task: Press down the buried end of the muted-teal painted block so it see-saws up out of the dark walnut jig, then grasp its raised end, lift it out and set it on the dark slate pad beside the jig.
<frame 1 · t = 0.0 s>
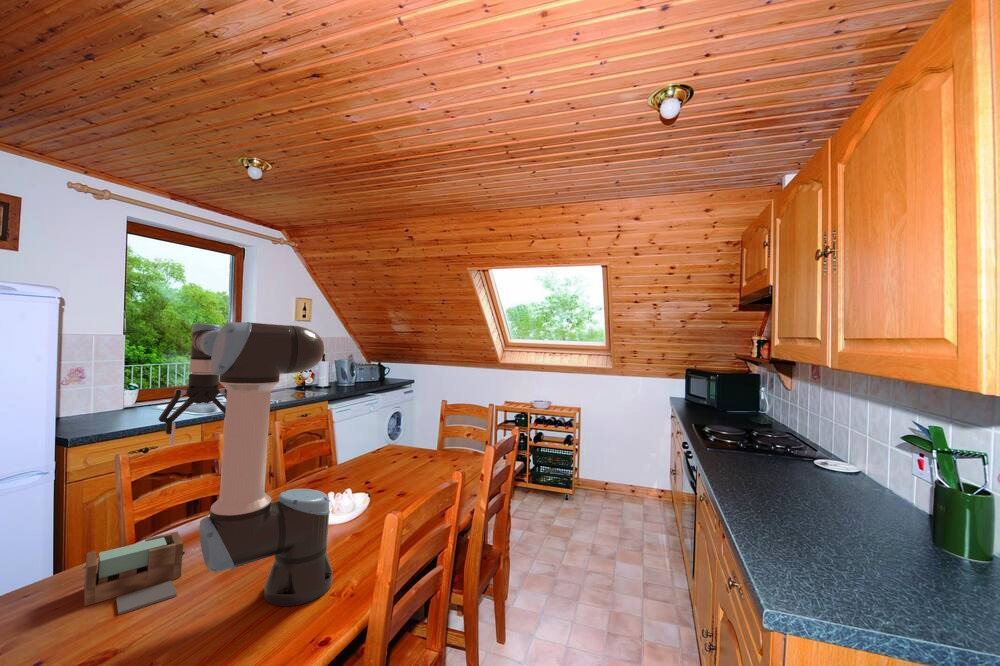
hand: (199, 441, 126), 28 cm above the table, fingers open, 13 cm apart
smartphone: (150, 557, 112), on the table
slate pad: (146, 598, 94), on the table
walnut jig: (133, 582, 99), on the table
teal block: (132, 565, 99), point 4 cm above the table, touching walnut jig
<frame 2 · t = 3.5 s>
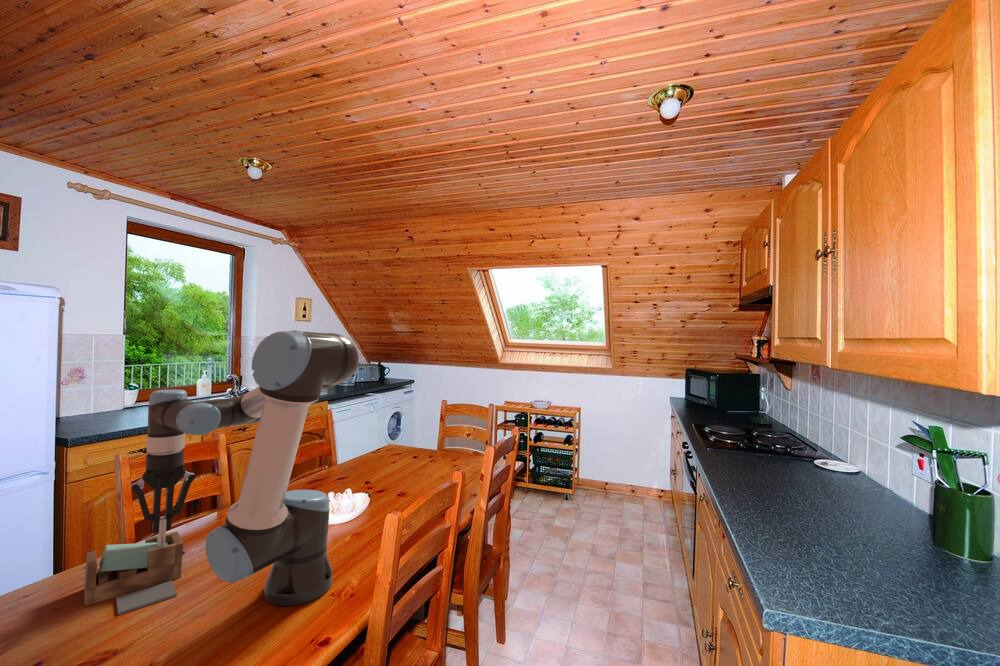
hand: (161, 544, 103), 8 cm above the table, fingers closed
teal block: (132, 564, 99), point 5 cm above the table, tilted 14°, touching gripper, walnut jig
everything else where it was.
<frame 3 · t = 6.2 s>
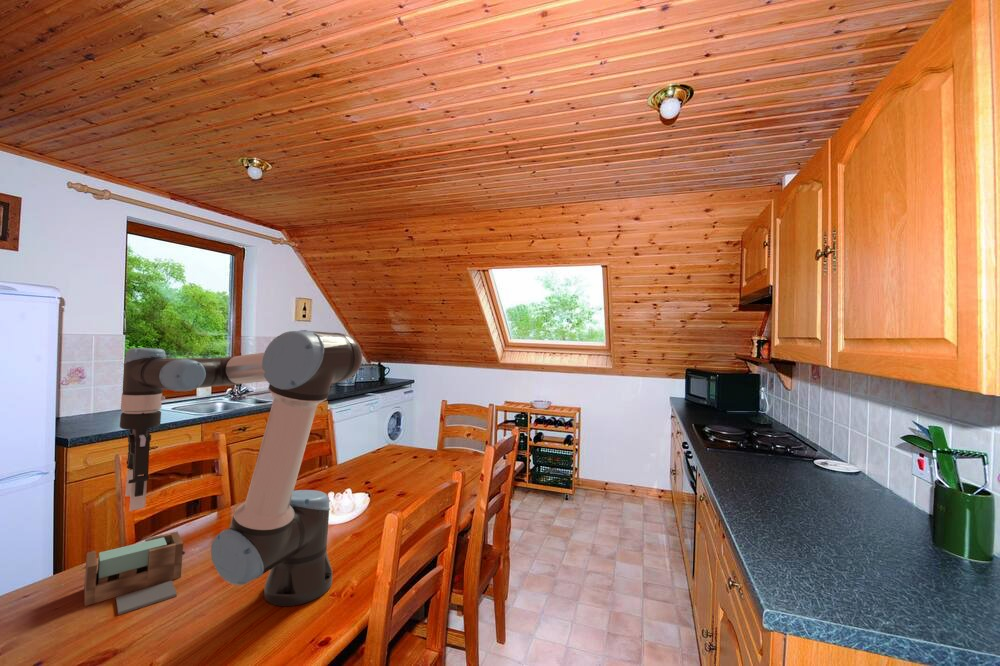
hand: (134, 501, 99), 20 cm above the table, fingers open, 10 cm apart
teal block: (132, 565, 99), point 4 cm above the table, touching walnut jig
everything else where it was.
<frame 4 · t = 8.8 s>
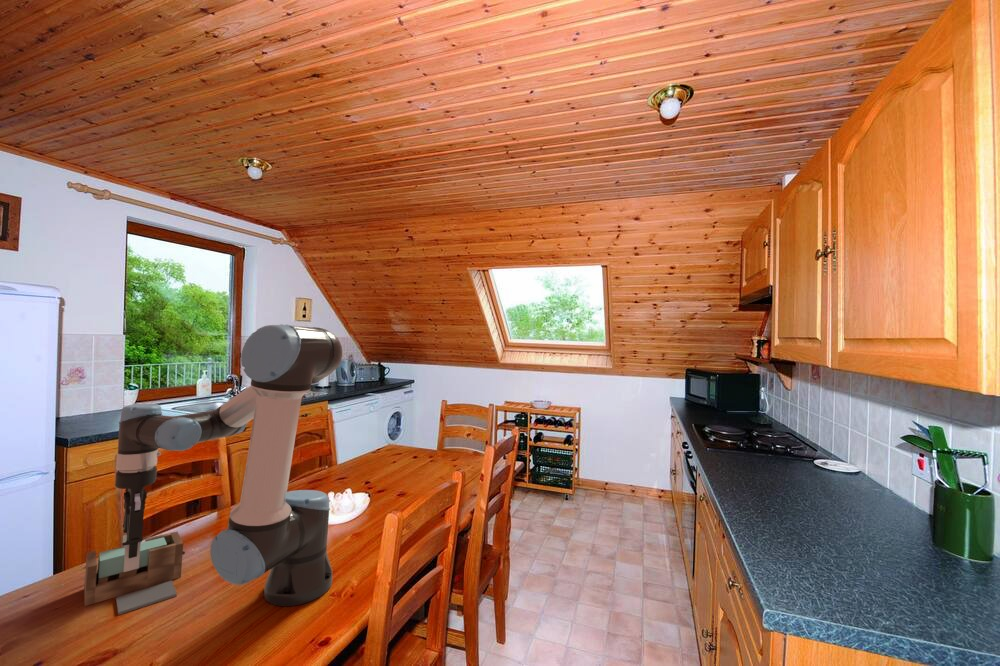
hand: (129, 564, 99), 5 cm above the table, fingers closed on teal block, walnut jig, 5 cm apart
teal block: (132, 565, 99), point 4 cm above the table, touching gripper, walnut jig
everything else where it was.
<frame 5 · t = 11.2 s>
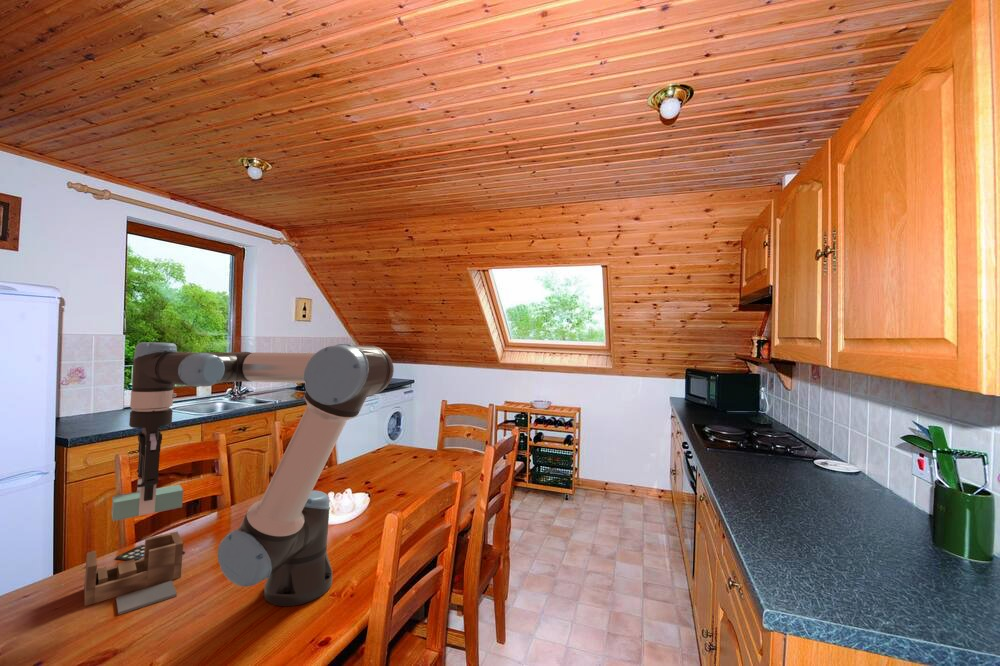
hand: (145, 509, 94), 21 cm above the table, fingers closed on teal block, 5 cm apart
teal block: (147, 510, 94), point 20 cm above the table, touching gripper
everything else where it was.
when the fingers open (6 cm above the table, at t = 13.7 s): teal block drops 5 cm, resting on slate pad.
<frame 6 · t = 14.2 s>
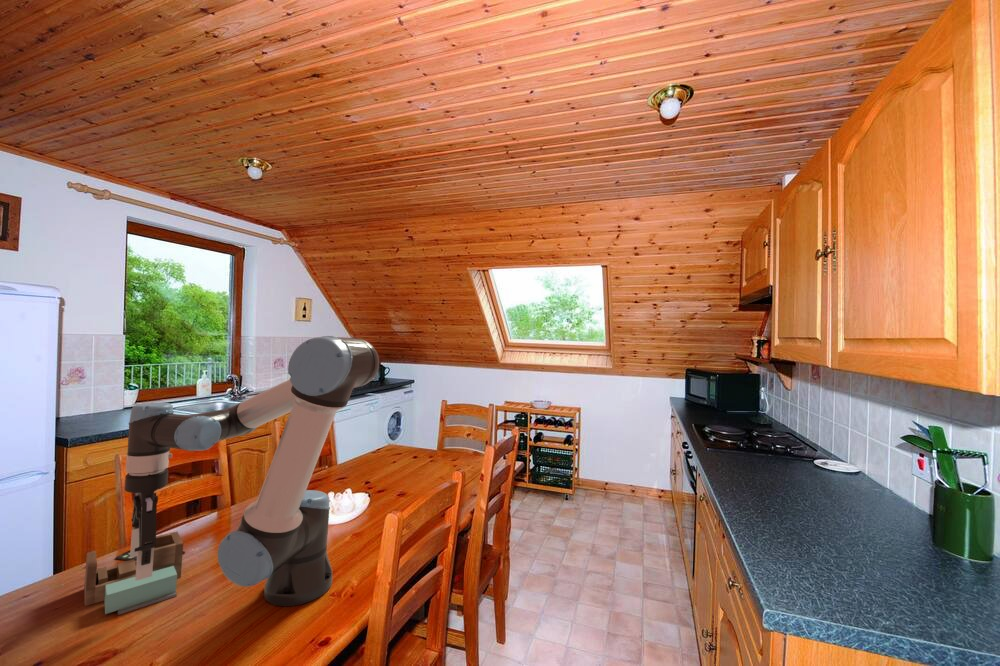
hand: (140, 566, 93), 8 cm above the table, fingers open, 12 cm apart
teal block: (141, 597, 93), point 1 cm above the table, touching slate pad
everything else where it was.
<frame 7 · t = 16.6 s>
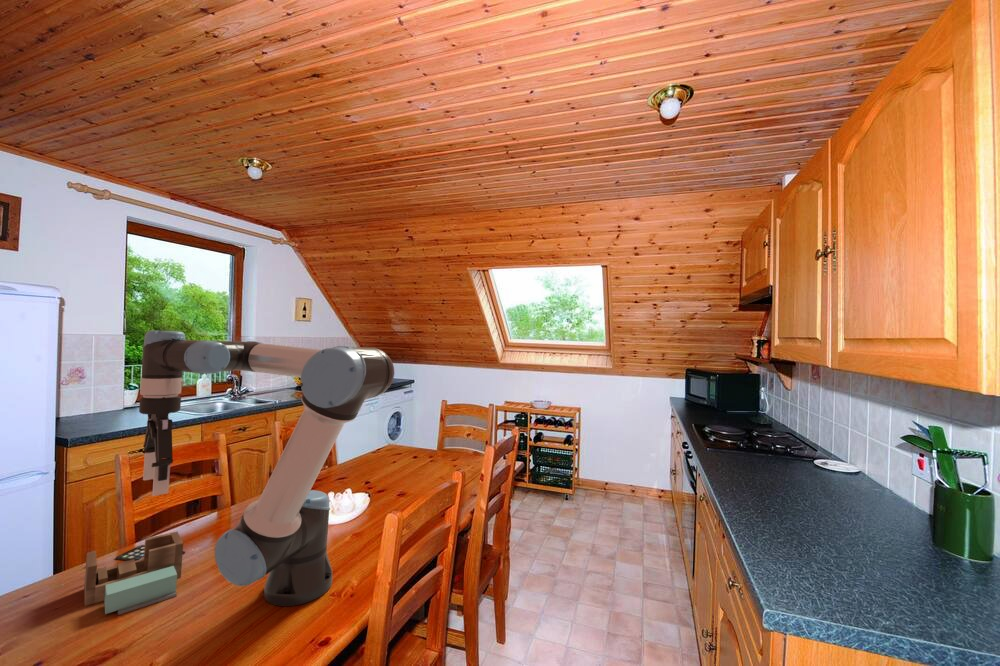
hand: (155, 486, 95), 25 cm above the table, fingers open, 13 cm apart
nothing on the table moved.
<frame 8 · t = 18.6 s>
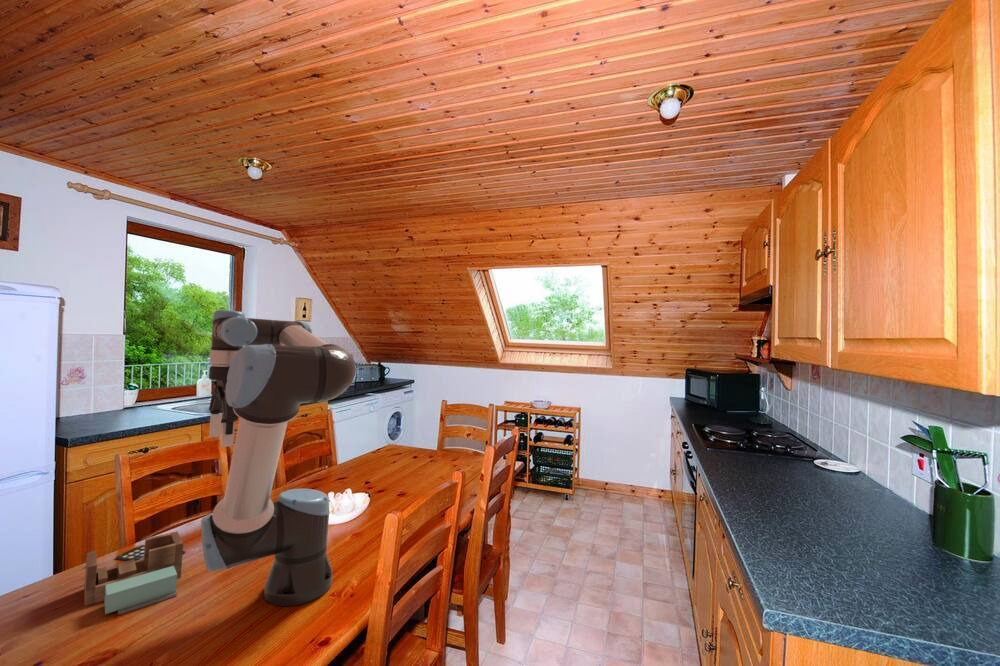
hand: (220, 441, 114), 32 cm above the table, fingers open, 13 cm apart
nothing on the table moved.
at the end: teal block inside the target area (0.8 cm from its centre), point 0.6 cm above the table; teal block touching slate pad; the gripper is holding nothing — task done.
